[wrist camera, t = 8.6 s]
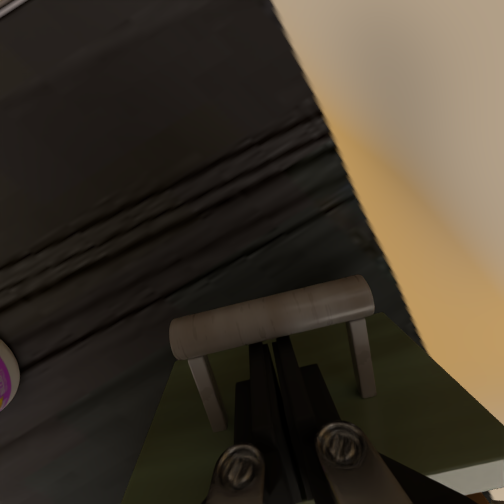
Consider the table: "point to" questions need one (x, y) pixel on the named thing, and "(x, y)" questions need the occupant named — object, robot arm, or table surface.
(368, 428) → the drawer
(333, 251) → the table surface
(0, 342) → the supplement bottle
